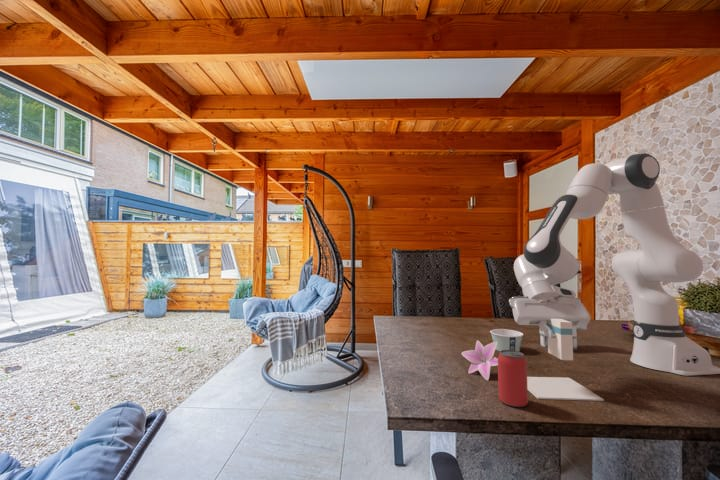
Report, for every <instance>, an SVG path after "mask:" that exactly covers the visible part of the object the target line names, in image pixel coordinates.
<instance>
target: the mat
mask: <svg viewBox="0 0 720 480" xmlns="http://www.w3.org/2000/svg"><path fill="white" fill-rule="evenodd" d="M527 387H528V391H529V392H530V393H531V395H532V396H534V397H535V398H536V399H537V400H557V401H558V400H559V401H560V400H562V401H594V402H596V401H599V402H604V401H605V399H604V398H602V397H601V396H599V395H598V394H596V393H594V392H593V391H592V390H590V389H588V388H587V387H585V386H583V385H582V384H580V383H578V382H577V381H575V380H573V379H572V378H570V377H559V376H557V377H555V376H554V377H553V376H550V377H549V376H527Z"/></svg>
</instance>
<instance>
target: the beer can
mask: <svg viewBox="0 0 720 480" xmlns="http://www.w3.org/2000/svg"><path fill="white" fill-rule="evenodd" d="M497 359H498V365H497V384H498V399H499V401H500V402H502V403H503V404H505V405H507V406H510V407H515V408H523V407H525V406H527V405H528V403H529V397H528V395H529V394H528V387H527V377H528V363H527V361H526V359H525V354H524V353H523V352H520V351H519V352H518V351H514V350H501V351H499V355H498V357H497Z"/></svg>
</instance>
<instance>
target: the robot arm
mask: <svg viewBox="0 0 720 480" xmlns="http://www.w3.org/2000/svg"><path fill="white" fill-rule="evenodd" d="M660 167H661V166H660V164H659V161H658V160H657V159H656V157H654V156H653V155H651V154H650V153H643V152H642V153H636V154H631V155H630V156H626V157H621V158H618V159H613V160H611V161H609V162H608V163H604V164H603V163H598V162H597V163H594V162H593V163H588V164H586V165H584V166H582V167H581V168H580V169H579V170H578V172H577V173H576V174H575V175H574V177H573V179H572V181H571V182H570V183H569V186H568V188H567V191H566V193H565V194H564V195H561V196H560V197H558V198H557V199H556V200H555V202H554V203H553V204H552V206H551V207H550V209H549V210H548V212H547V214H546V216H545V217H544V219H543V220H542V222H541V223H540V225H539V226H538V228H537V230H536V231H535V232H534V234H533V235H532V236H531V237H530V238H529V239H528V240H527V241H526V243H525V245H524V249H523V254H520V255H519V256H518V257H516V258H515V260H514V263H513V271H514V275H515V278H516V280H517V282H518V285H519V287H521V289H522V290H521V291H522V295H523V296H512V297H510V298H509V299H508V303H509V306H510V307H511V309H512V315H513V319H514V321H515V323H516V324H518V325H519V326H538V327H539V329H542V330H543V331H544V332H545V333H546V334H547V336H548V338H555V337H556V333H555V331H554V330H551V329H550V328H549V327H548V326H547V321H548V320H550V319H563V320H566V321H569V322H572V326H586V325H587V326H588V324H589V322H590V321H591V318H592V317H591V315H590V314H591V313H590V312H589V311H588V310H587V308H586V306H585V305H584V304H583V303H582V301H579V300H578V299H576V298H577V296H576V292H575V291H574V290H571V289H567V288H563V287H560V286H557V285H560V284H563V283H564V282H568V281H569V280H572V279H573V278H574V277H576V276H577V275H578V274H579V273H578V272H579V271H580V266H581V265H580V261H579V260H578V258H576V257H575V256H574V255H573V254H572V252H571V251H569V250H568V249H567V248H566V247H565V246H564V245H563V244H562V242H561V234H562V233H563V231H564V229H565V227H566V225H567V224H568V222H569V221H570V219H574V220H587V219H592V218H594V217H596V216H597V215H599V214H600V212H601V211H602V210H603V209H604V206H605V204H606V202H607V198H608V196H609V195H614V194H615V195H616V194H618V195H619V207H620V214H621V218H622V224H623V230H624V233H625V235H626V236H628V237H629V238H630V239H633V240H634V241H636V242H637V243H638V244H639V246H640V247H641V249H629V250H624V251H621V252H618V253H616V254H615V255H614V256H613V258H612V261H611V268H612V271H613V272H614V273H615V275H617V276H618V277H619V278H620V279H622V281H623V282H624V284H625V286H626V287H627V288H628V291H629V294H630V296H631V299H632V310H633V320H632V331H633V335H634V337H633V346H632V351H631V356H630V359H629V361H630V362H631V363H633V364H634V365H637V366H640V367H643V368H647V369H652V370H657V371H661V372H665V373H666V372H667V373H672V374H676V375H679V376H680V375H681V376H703V375H704V376H705V375H720V367H719V366H716V365H713V363H712V357H711V355H710V352H708V350H707V349H705V348H704V347H702V346H701V345H699V344H698V343H696V342H695V341H693V340H692V339H691V338H689V337H687V334H686V333H688V334H694V332H695V331H696V330H695V329H694V327H692V326H687V325H684V326H682V325H681V324H680V311H679V302H678V300H677V299H676V298H675V297H674V296H672V295H671V294H669V293H668V292H667V291H666V290H665V289H664V288H663V284H661V283H673V284H675V283H687V282H691V281H692V282H693V281H695V280H697V279H698V278H700V276H701V275H702V273H703V271H704V262H703V260H702V259H701V257H700V256H699V255H698V254H697V253H696V252H694V251H692V250H691V249H688V248H687V247H685V246H684V245H683V244H682V243H681V242H680V241H679V240H678V239H677V237H675V235H674V233H673V232H672V230H671V227H670V225H669V220H668V217H667V213H666V208H665V204H664V200H663V195H662V193H661V190H660V187H659V186H658V184H657V183H656V181H657V180H658V178H659V175H660V171H661V168H660ZM575 297H576V298H575ZM572 337H573V335H572Z"/></svg>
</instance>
